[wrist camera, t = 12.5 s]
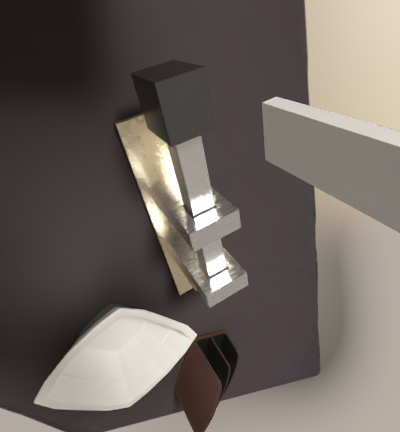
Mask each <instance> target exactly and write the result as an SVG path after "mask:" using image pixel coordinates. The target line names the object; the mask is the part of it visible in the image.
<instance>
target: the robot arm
mask: <svg viewBox="0 0 400 432" xmlns="http://www.w3.org/2000/svg"><path fill="white" fill-rule="evenodd" d="M262 110H263V127H264V143H265V160H267V161H269V162H270V163H272V164H274V165H276V166H278V167H280V168H282V169H283V170H285V171H287V172H289V173H291V174H293V175H294V176H296V177H298V178H300V179H302V180H304V181H305V182H307V183H309V184H311V185H313V186H315V187H317V188H318V189H320V190H322V191H324V192H326V193H328V194H329V195H331V196H333V197H335V198H337V199H339V200H340V201H343V202H344V203H346V204H348V205H350V206H352V207H353V208H355V209H357V210H359V211H361V212H363V213H364V214H366V215H368V216H370V217H372V218H374V219H376V220H377V221H379V222H381V223H383V224H385V225H386V226H388V227H390V228H392V229H394V230H396V231H397V232H399V233H400V131H398V130H393V129H390V128H386V127H383V126H380V125H375V124H372V123H368V122H365V121H361V120H357V119H354V118H350V117H347V116H343V115H340V114H336V113H332V112H329V111H326V110H322V109H318V108H315V107H311V106H308V105H304V104H301V103H297V102H293V101H290V100H286V99H283V98H279V97H275V98H272V99H270V100H267V101H265V102H263V103H262Z"/></svg>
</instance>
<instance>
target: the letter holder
mask: <svg viewBox="0 0 400 432" xmlns="http://www.w3.org/2000/svg"><path fill="white" fill-rule="evenodd" d="M238 360H239V352H238V350H237V349H236V347H235V346H234V344H233V342H232V341H231V339H230V338H229V336H228V335H227V333H226V331H225V330H220V331H217V332H213V333H209V334H205V335H201V336H197V337H196V338H195V339H194V341H193V342H192V344H191V345H190V347H189V349H188V352H187V354H186V357H185V360H184V363H183V365H182V368H181V371H180V374H179V377H178V379H177V382H176V385H175V388H174V390H175V393H176V394H177V397H178V399H179V401H180V403H181V405H182V408H183V410H184V412H185V414H186V416H187V418H188V421H189V422H190V425H191V427H192V429H193V431H194V432H204V431H205V430H206V428H207V427H208V425H209V423H210V421H211V420H212V417H213V415H214V413H215V410H216V408H217V406H218V404H219V402H220V400H221V398H222V397H223V395H224V394H225V392H226V390H227V388H228V387H229V384H230V382H231V380H232V378H233V375H234V373H235V370H236V367H237V364H238Z"/></svg>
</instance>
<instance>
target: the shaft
mask: <svg viewBox="0 0 400 432" xmlns="http://www.w3.org/2000/svg"><path fill="white" fill-rule="evenodd" d="M131 76H132V79H133V83H134V86H135V89H136V92H137V96H138V99H139V102H140V105H141V109H142V112H143V115H144V118H145V122H146V125H147V128H148V129H149V130H150V131H151V132H153V133H154V134H155V135H156V136H158V137H159V138H160V139H162V140H163V141H164V142H166V143H167V146H168V150H169V153H170V157H171V161H172V164H173V168H174V172H175V175H176V179H177V183H178V186H179V190H180V193H181V197H182V201H183V204H184V208H185V211H186V212H187V213H188V214H189V215H190V216H191V217H192V218H193V219H194V218H196V217H198V216H200V215H202V214H204V213H206V212H208V211H211V210H213V209H215V206H214V201H213V196H212V191H211V186H210V180H209V175H208V170H207V165H206V159H205V154H204V149H203V144H202V139H201V135H203V134H206V133H208V132H211V131H213V130H215V127H214V120H213V114H212V108H211V101H210V95H209V89H208V82H207V76H206V70H205V66H200V65H195V64H191V63H186V62H181V61H177V60H172V61H168V62H165V63H162V64H159V65H156V66H152V67H149V68H146V69H143V70H140V71H136V72H133V73H131ZM196 252H197V256H198V259H199V263H200V267H201V270H202V271H203V273H204V274H205V275H206V277H207V278H208V279H209V280H210V279H212V278H213V277H215V276H217V275H219V274H220V273H222V272H224V271H226V270H227V269H226V264H225V259H224V253H223V248H222V243H221V238H220V239H218V240H216V241H214V242H212V243H211V244H209V245H207V246H205V247H203V248H201V249H199V250H197V251H196Z"/></svg>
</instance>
